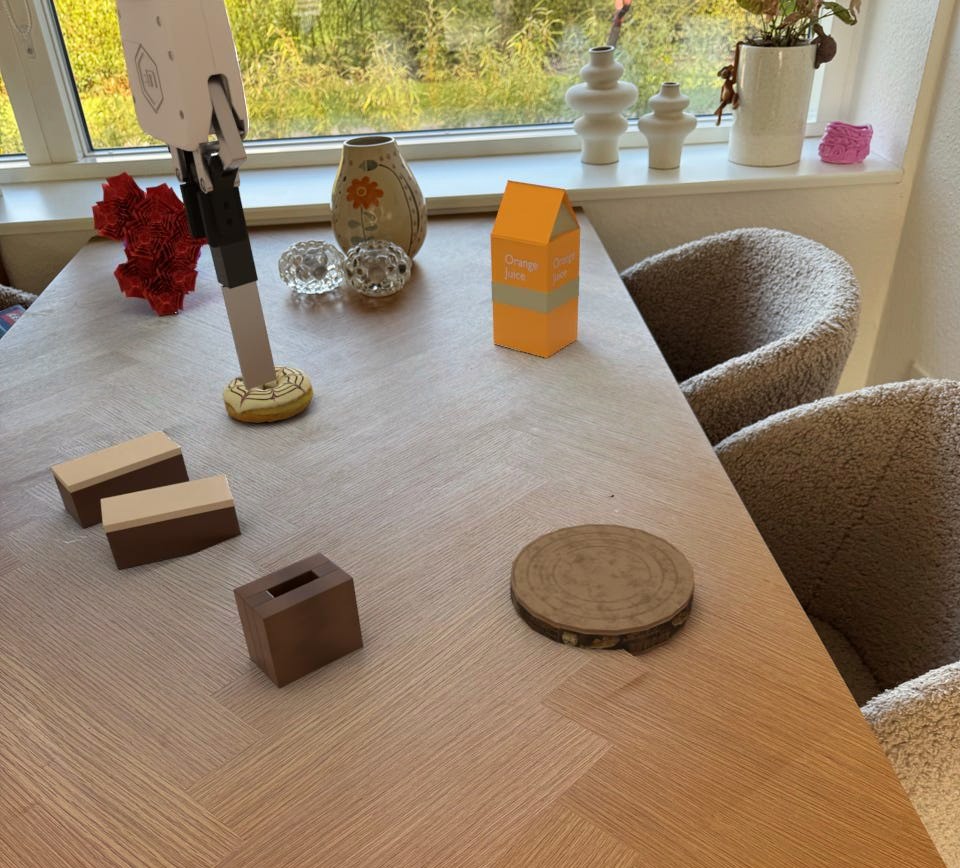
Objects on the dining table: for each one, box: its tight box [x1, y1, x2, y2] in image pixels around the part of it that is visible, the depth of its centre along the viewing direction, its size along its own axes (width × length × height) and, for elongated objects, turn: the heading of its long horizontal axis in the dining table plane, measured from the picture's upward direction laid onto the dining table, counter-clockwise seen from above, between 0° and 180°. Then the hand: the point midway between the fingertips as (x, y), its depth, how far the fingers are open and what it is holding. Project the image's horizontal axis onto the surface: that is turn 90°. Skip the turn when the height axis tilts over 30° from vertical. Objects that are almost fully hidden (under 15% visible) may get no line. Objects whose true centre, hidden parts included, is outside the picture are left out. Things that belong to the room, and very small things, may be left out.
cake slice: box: [101, 473, 242, 570], centre depth 93 cm, size 12×5×5 cm, turn 110°
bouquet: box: [91, 171, 208, 316], centre depth 151 cm, size 20×16×30 cm
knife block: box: [232, 551, 364, 689], centre depth 77 cm, size 8×5×8 cm, turn 128°
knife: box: [190, 159, 277, 390], centre depth 78 cm, size 3×2×18 cm
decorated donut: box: [222, 365, 314, 424], centre depth 116 cm, size 10×11×4 cm
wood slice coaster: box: [509, 523, 696, 656], centre depth 84 cm, size 16×16×3 cm
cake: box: [50, 430, 190, 529], centre depth 100 cm, size 12×5×5 cm, turn 128°
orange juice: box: [490, 179, 581, 359], centre depth 124 cm, size 8×9×20 cm
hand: (219, 237), depth 75 cm, fingers closed on knife, 2 cm apart
